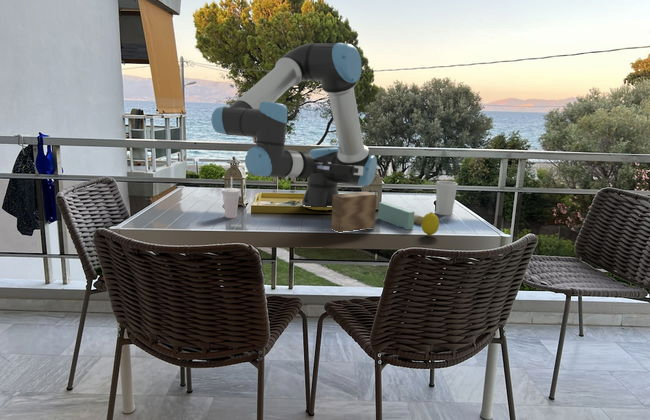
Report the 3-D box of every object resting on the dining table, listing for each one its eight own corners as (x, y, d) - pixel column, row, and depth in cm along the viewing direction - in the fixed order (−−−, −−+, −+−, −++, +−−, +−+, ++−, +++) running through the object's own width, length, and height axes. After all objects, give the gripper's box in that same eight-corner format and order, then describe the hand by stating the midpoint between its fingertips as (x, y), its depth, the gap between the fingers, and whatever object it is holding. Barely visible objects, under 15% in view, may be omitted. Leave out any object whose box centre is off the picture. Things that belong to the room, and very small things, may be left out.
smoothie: (243, 215, 176) (243, 176, 173) (234, 220, 170) (234, 179, 167) (227, 213, 178) (227, 175, 175) (218, 217, 172) (217, 177, 169)
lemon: (418, 233, 164) (420, 210, 162) (434, 233, 164) (437, 210, 162) (423, 238, 158) (425, 214, 156) (439, 238, 159) (442, 214, 157)
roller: (417, 222, 174) (422, 226, 175) (422, 215, 174) (426, 219, 176) (398, 215, 182) (403, 220, 183) (403, 209, 182) (407, 213, 184)
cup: (454, 216, 189) (458, 185, 186) (433, 214, 190) (436, 183, 187) (453, 211, 196) (457, 181, 193) (433, 210, 198) (436, 180, 195)
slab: (339, 234, 159) (341, 197, 156) (331, 230, 163) (332, 194, 161) (374, 229, 167) (376, 194, 164) (365, 225, 171) (367, 191, 168)
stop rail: (407, 229, 168) (408, 212, 166) (378, 218, 181) (379, 202, 179) (413, 228, 169) (414, 211, 167) (383, 217, 182) (384, 201, 180)
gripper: (266, 173, 148) (316, 176, 164) (325, 183, 131) (375, 185, 147) (268, 148, 148) (318, 153, 163) (328, 154, 131) (378, 160, 146)
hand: (345, 168), depth 155 cm, fingers open, 13 cm apart
